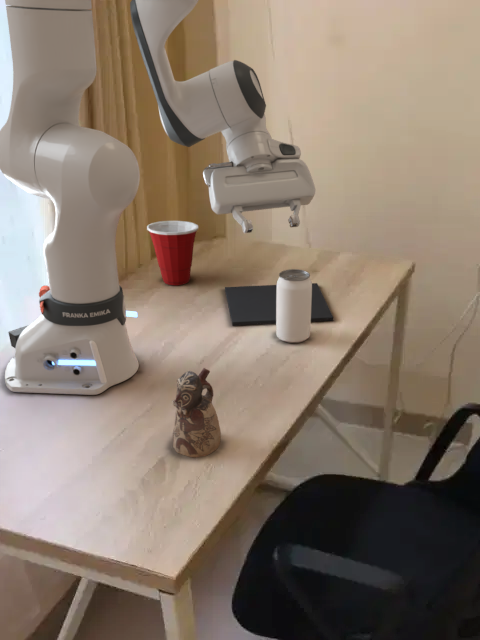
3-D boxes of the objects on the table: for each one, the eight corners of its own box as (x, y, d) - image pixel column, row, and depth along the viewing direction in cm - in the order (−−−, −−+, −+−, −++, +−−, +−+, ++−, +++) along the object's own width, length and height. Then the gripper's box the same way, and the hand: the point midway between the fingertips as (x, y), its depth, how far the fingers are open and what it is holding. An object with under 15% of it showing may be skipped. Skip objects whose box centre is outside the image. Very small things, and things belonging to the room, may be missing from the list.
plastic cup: (205, 272, 167) (202, 217, 160) (196, 290, 159) (193, 233, 152) (158, 270, 168) (153, 215, 161) (146, 288, 160) (140, 231, 152)
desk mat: (232, 326, 145) (232, 322, 145) (224, 290, 159) (224, 286, 159) (333, 321, 148) (333, 317, 147) (317, 286, 162) (317, 282, 161)
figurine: (166, 438, 113) (159, 366, 106) (209, 426, 116) (205, 356, 108) (184, 462, 108) (178, 388, 101) (228, 449, 111) (226, 377, 103)
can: (315, 340, 140) (318, 278, 133) (283, 346, 138) (284, 283, 131) (302, 327, 145) (304, 266, 138) (271, 332, 143) (271, 270, 136)
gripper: (203, 154, 135) (222, 226, 133) (307, 145, 141) (326, 214, 140) (197, 174, 141) (216, 243, 139) (297, 165, 147) (315, 230, 146)
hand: (272, 228), depth 140 cm, fingers open, 8 cm apart
